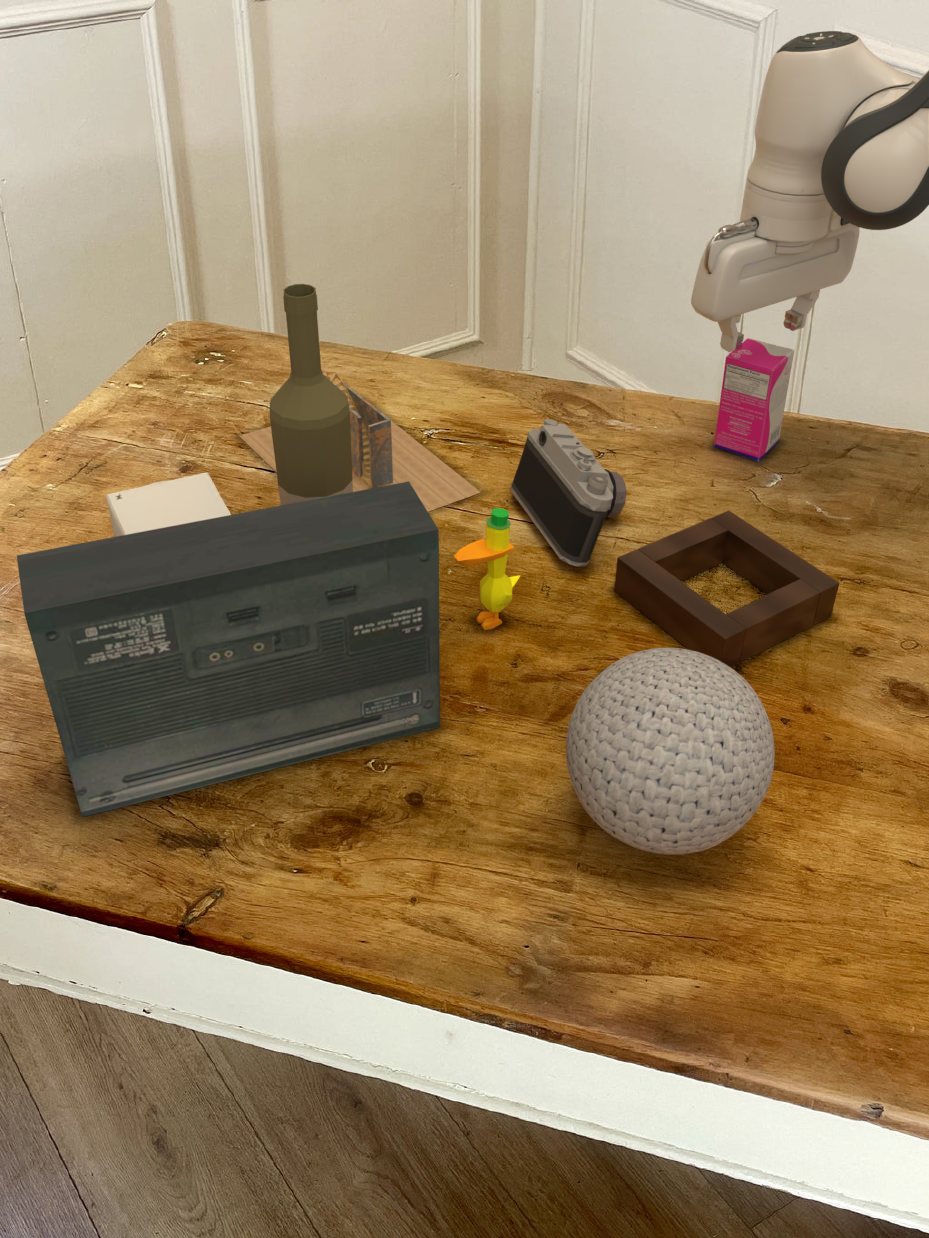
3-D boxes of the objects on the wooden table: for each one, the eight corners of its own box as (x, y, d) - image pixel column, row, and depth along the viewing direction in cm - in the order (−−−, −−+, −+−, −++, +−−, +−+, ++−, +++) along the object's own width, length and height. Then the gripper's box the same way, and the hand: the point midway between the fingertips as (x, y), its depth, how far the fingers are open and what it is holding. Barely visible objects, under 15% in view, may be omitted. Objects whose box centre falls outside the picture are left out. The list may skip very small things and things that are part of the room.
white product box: (155, 690, 103) (126, 548, 94) (131, 630, 109) (101, 492, 100) (256, 661, 106) (238, 521, 97) (227, 604, 112) (207, 468, 103)
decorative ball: (535, 863, 88) (545, 716, 79) (589, 731, 99) (604, 588, 90) (737, 922, 84) (773, 774, 75) (770, 778, 95) (806, 633, 86)
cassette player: (413, 675, 105) (408, 481, 92) (439, 727, 100) (438, 529, 87) (72, 755, 97) (16, 555, 84) (82, 816, 92) (24, 613, 79)
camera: (637, 573, 119) (673, 486, 114) (563, 570, 116) (596, 480, 110) (573, 492, 131) (603, 410, 125) (504, 487, 127) (531, 402, 122)
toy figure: (464, 644, 108) (466, 535, 101) (446, 622, 110) (446, 514, 103) (528, 622, 111) (534, 514, 103) (509, 601, 113) (513, 494, 106)
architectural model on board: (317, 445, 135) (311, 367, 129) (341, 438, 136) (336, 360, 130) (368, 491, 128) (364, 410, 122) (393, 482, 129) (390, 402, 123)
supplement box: (732, 426, 139) (748, 335, 132) (780, 442, 137) (798, 349, 129) (710, 447, 135) (725, 354, 128) (758, 463, 133) (776, 370, 126)
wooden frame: (723, 543, 121) (728, 510, 118) (831, 617, 112) (840, 582, 109) (613, 591, 114) (617, 557, 112) (718, 673, 105) (725, 638, 103)
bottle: (370, 600, 113) (355, 300, 94) (299, 617, 111) (268, 314, 92) (347, 559, 118) (328, 267, 99) (278, 575, 116) (245, 280, 97)
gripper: (733, 240, 112) (711, 374, 121) (878, 200, 122) (848, 327, 130) (687, 219, 116) (669, 350, 125) (831, 182, 126) (805, 306, 134)
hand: (762, 338), depth 128 cm, fingers open, 8 cm apart
